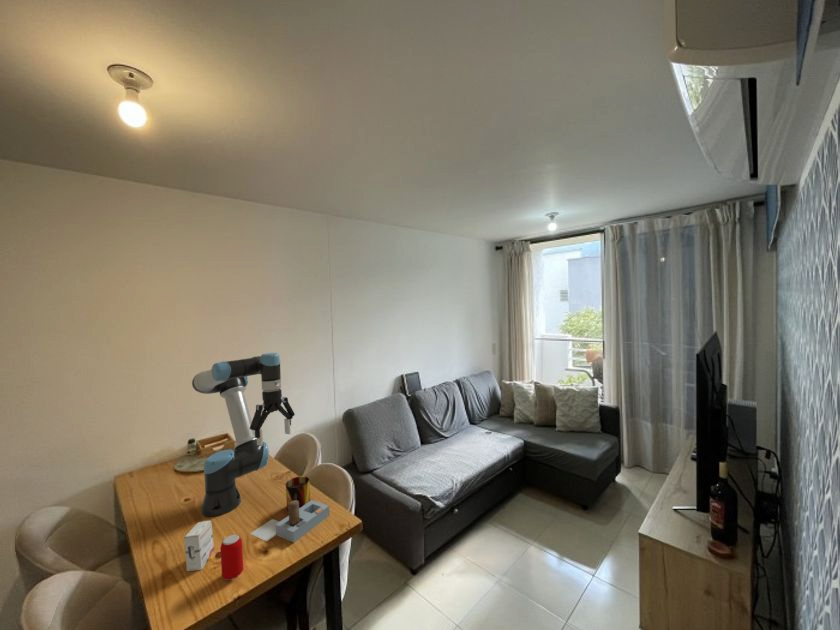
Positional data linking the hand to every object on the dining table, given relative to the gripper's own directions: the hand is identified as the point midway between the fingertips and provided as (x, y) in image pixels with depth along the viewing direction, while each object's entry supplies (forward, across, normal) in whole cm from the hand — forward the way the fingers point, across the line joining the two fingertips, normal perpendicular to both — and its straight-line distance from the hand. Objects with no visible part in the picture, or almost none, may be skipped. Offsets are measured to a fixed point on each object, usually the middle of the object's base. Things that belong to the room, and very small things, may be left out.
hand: (274, 439), depth 143 cm
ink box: (+32, -31, 0) cm, 45 cm away
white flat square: (+32, -10, -8) cm, 34 cm away
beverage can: (+32, -30, -16) cm, 46 cm away
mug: (+32, +5, -8) cm, 33 cm away
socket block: (+32, -2, -18) cm, 37 cm away
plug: (+32, -6, -18) cm, 37 cm away
